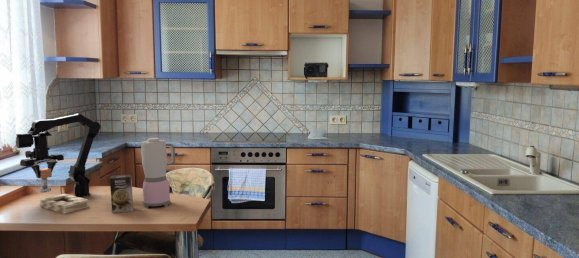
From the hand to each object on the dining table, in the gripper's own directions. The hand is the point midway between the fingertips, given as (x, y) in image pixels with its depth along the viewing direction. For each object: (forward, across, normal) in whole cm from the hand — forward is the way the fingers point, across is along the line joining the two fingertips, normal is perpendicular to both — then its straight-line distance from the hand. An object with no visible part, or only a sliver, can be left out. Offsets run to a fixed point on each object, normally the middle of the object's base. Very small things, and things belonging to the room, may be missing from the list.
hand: (44, 177), depth 224 cm
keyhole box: (+12, 0, +16) cm, 20 cm away
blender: (+13, -26, +53) cm, 60 cm away
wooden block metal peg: (+7, 0, 0) cm, 7 cm away
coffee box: (+13, -11, +45) cm, 48 cm away
